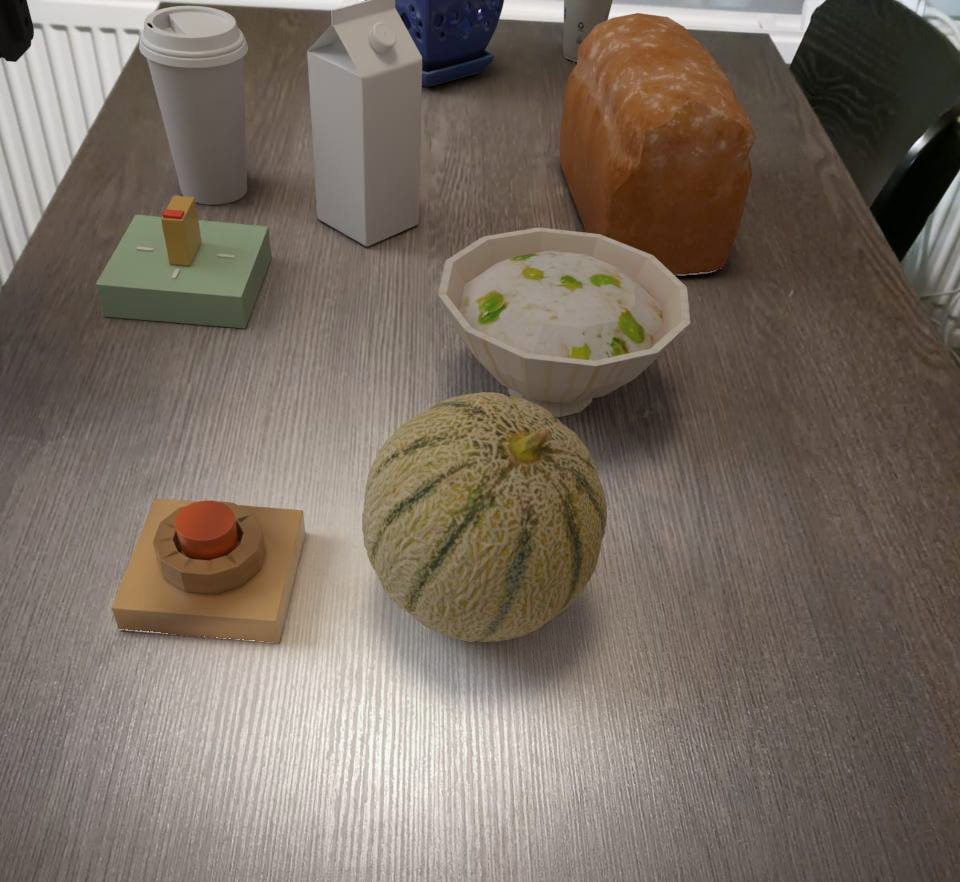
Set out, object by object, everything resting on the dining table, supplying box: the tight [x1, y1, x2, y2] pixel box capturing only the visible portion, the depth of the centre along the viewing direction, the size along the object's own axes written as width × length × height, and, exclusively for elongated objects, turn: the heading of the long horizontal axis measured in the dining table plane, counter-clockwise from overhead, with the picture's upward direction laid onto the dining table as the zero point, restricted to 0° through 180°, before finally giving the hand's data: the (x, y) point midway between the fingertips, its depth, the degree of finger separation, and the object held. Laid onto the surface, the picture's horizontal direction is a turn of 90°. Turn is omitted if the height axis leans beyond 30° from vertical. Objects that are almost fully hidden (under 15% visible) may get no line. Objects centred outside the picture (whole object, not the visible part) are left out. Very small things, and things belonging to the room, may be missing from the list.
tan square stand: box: [111, 497, 306, 644], centre depth 62 cm, size 10×10×4 cm
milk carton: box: [306, 0, 423, 247], centre depth 88 cm, size 7×7×19 cm
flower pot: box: [364, 0, 505, 88], centre depth 116 cm, size 13×13×12 cm
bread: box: [558, 12, 757, 275], centre depth 94 cm, size 14×26×16 cm, turn 7°
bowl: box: [437, 226, 691, 418], centre depth 76 cm, size 19×19×10 cm
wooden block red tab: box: [161, 194, 202, 266], centre depth 82 cm, size 4×2×4 cm, turn 177°
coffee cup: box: [138, 5, 249, 206], centre depth 92 cm, size 10×10×15 cm
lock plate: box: [95, 214, 272, 330], centre depth 85 cm, size 12×12×3 cm
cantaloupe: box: [361, 391, 608, 643], centre depth 58 cm, size 15×15×15 cm
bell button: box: [175, 500, 238, 560], centre depth 60 cm, size 4×4×2 cm
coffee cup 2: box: [562, 0, 614, 61], centre depth 123 cm, size 7×7×10 cm
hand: (10, 52), depth 59 cm, fingers closed
